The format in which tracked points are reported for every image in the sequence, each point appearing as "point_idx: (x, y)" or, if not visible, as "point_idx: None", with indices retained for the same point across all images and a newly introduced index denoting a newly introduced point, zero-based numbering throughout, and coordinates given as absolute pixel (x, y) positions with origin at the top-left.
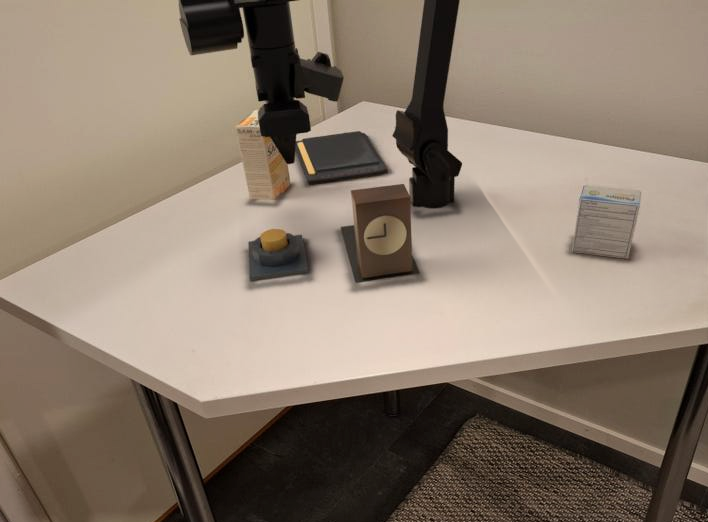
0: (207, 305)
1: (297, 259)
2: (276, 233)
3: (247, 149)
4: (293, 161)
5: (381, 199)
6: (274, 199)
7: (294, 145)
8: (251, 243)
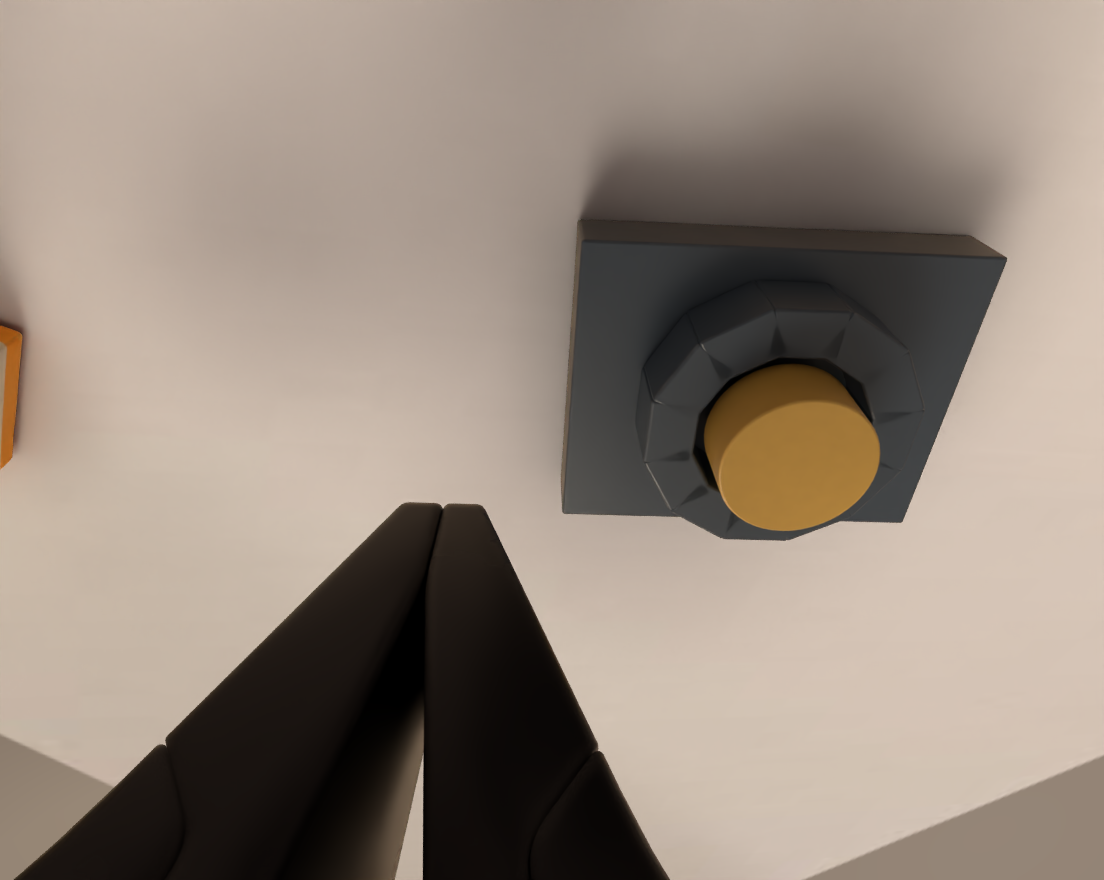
0: (909, 622)
1: (875, 302)
2: (791, 452)
3: None
4: (493, 527)
5: None
6: (3, 346)
7: (579, 716)
8: (590, 502)
